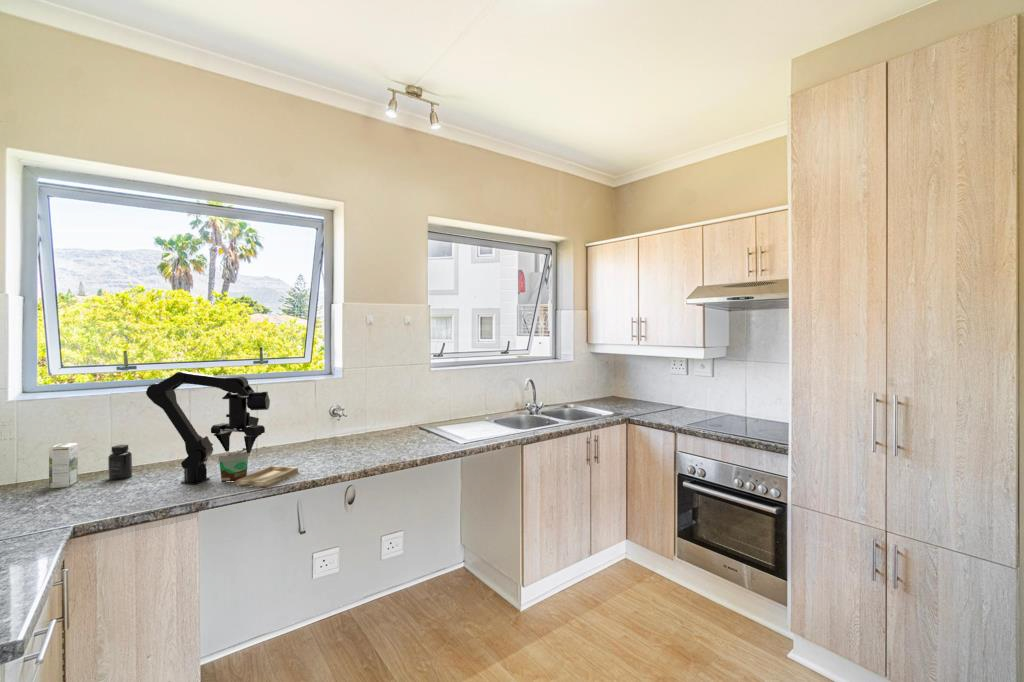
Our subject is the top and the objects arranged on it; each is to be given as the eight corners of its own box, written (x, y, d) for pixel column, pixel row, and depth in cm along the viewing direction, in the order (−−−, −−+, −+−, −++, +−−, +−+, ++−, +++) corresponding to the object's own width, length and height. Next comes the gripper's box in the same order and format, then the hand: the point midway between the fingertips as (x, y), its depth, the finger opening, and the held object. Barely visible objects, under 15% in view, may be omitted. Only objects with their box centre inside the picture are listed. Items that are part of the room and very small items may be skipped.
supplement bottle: (136, 475, 177) (136, 444, 177) (117, 481, 171) (116, 448, 170) (123, 474, 179) (123, 443, 179) (103, 479, 173) (103, 447, 172)
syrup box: (57, 483, 168) (56, 443, 168) (78, 481, 170) (77, 442, 170) (48, 488, 163) (47, 447, 162) (70, 486, 165) (69, 446, 164)
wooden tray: (235, 485, 166) (235, 480, 166) (271, 470, 184) (271, 465, 184) (265, 488, 164) (265, 482, 164) (298, 472, 182) (298, 467, 182)
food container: (232, 484, 168) (232, 457, 167) (218, 483, 169) (217, 456, 169) (257, 474, 180) (257, 448, 179) (244, 473, 181) (243, 447, 181)
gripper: (275, 408, 180) (275, 448, 180) (233, 406, 183) (233, 445, 184) (253, 413, 169) (253, 456, 169) (209, 410, 172) (209, 452, 173)
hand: (238, 452), depth 174 cm, fingers open, 9 cm apart
